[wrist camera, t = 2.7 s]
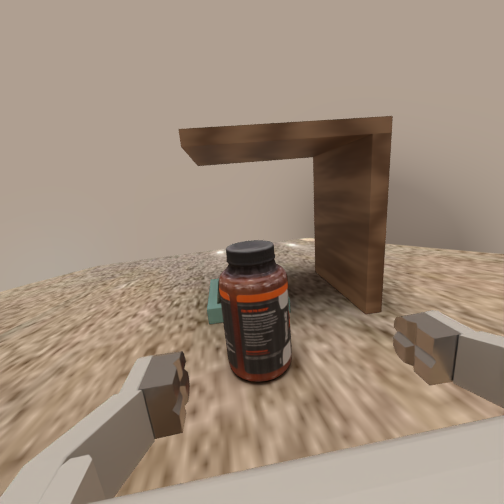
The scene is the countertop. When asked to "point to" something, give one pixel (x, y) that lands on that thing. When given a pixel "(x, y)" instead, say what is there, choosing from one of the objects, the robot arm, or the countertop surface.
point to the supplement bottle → (255, 311)
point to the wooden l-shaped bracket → (324, 189)
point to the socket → (216, 303)
